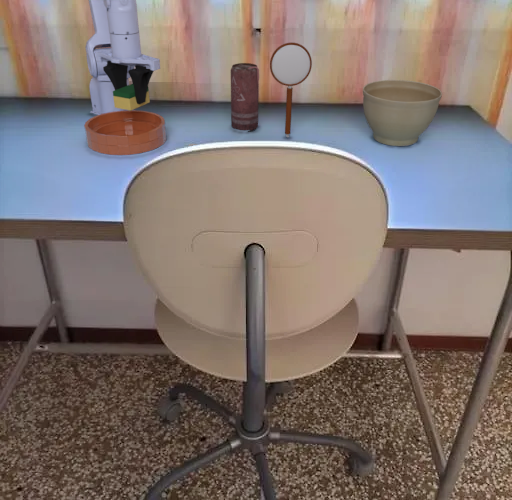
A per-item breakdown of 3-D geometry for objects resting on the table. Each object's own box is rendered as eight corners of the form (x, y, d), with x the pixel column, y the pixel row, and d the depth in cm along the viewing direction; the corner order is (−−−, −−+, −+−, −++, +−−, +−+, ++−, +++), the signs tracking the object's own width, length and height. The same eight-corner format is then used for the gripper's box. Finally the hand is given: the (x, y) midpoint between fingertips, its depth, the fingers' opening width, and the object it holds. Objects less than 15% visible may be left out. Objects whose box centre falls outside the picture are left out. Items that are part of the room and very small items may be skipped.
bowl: (71, 145, 114) (67, 124, 112) (130, 124, 125) (128, 105, 123) (124, 164, 106) (121, 142, 103) (182, 140, 117) (180, 120, 115)
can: (256, 133, 121) (256, 69, 114) (228, 131, 122) (227, 68, 115) (261, 124, 126) (262, 63, 119) (234, 122, 127) (234, 61, 120)
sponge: (130, 110, 110) (129, 94, 108) (114, 107, 112) (112, 91, 110) (149, 102, 115) (148, 86, 113) (134, 99, 117) (132, 83, 115)
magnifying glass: (306, 136, 120) (312, 41, 109) (307, 139, 119) (313, 43, 108) (267, 136, 120) (270, 41, 109) (268, 139, 118) (270, 43, 108)
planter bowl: (369, 122, 128) (374, 76, 122) (438, 133, 122) (448, 85, 117) (348, 144, 116) (353, 94, 110) (424, 158, 110) (434, 105, 104)
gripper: (81, 31, 106) (92, 100, 113) (141, 39, 100) (148, 111, 107) (105, 26, 111) (114, 92, 118) (164, 33, 105) (169, 102, 113)
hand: (132, 101), depth 113 cm, fingers closed on sponge, 4 cm apart
